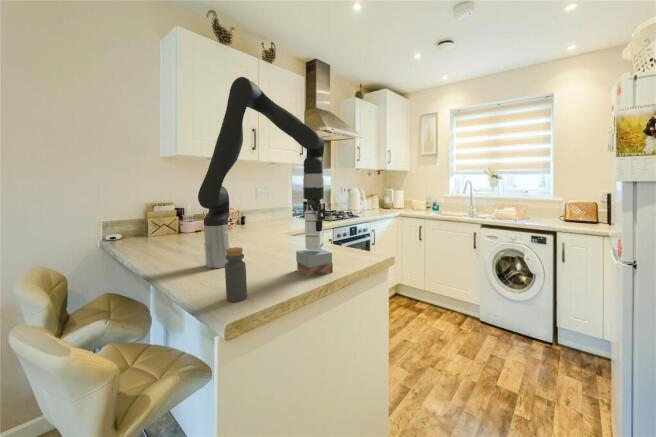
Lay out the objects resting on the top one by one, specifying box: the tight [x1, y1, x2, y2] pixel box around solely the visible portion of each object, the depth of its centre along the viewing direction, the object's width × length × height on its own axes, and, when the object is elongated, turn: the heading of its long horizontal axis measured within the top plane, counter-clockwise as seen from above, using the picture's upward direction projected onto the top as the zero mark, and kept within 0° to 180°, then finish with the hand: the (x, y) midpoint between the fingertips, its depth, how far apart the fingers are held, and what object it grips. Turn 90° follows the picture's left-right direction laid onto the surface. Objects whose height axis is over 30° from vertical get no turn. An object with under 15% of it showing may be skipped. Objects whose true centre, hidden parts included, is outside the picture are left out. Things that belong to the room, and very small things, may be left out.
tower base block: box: [296, 261, 334, 278], centre depth 114 cm, size 10×10×4 cm
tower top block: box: [295, 248, 333, 267], centre depth 114 cm, size 10×10×4 cm
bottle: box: [224, 247, 248, 303], centre depth 88 cm, size 6×6×15 cm
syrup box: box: [304, 210, 324, 250], centre depth 113 cm, size 6×6×14 cm
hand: (314, 229), depth 113 cm, fingers closed on syrup box, 7 cm apart
